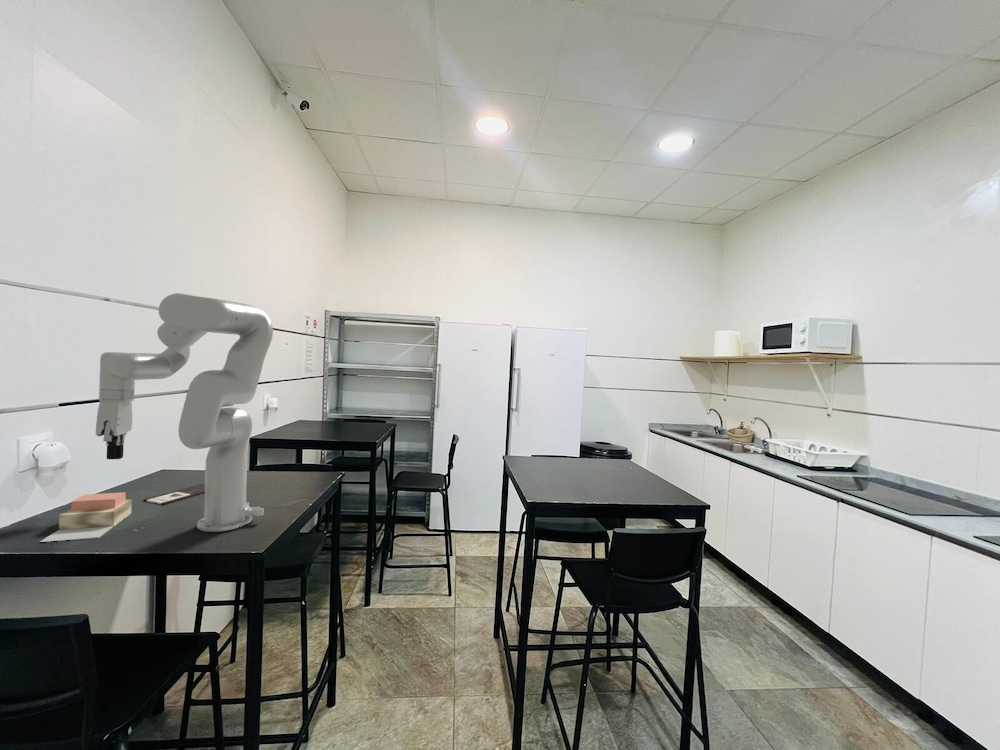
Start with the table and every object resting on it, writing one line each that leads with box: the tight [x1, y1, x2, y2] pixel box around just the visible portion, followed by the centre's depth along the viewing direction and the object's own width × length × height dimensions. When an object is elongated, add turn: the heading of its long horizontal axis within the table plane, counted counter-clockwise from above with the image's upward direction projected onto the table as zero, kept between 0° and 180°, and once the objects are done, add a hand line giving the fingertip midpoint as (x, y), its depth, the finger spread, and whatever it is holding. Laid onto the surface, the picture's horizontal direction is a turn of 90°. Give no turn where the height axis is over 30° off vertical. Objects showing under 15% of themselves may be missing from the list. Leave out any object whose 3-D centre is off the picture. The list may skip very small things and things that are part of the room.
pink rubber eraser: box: [70, 491, 127, 511], centre depth 115 cm, size 9×6×2 cm, turn 111°
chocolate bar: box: [143, 484, 205, 506], centre depth 138 cm, size 9×1×18 cm
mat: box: [39, 526, 114, 543], centre depth 105 cm, size 11×7×1 cm, turn 111°
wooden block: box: [58, 498, 133, 530], centre depth 114 cm, size 11×10×4 cm
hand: (114, 458), depth 123 cm, fingers closed
